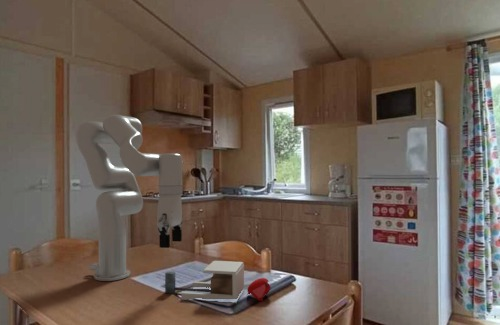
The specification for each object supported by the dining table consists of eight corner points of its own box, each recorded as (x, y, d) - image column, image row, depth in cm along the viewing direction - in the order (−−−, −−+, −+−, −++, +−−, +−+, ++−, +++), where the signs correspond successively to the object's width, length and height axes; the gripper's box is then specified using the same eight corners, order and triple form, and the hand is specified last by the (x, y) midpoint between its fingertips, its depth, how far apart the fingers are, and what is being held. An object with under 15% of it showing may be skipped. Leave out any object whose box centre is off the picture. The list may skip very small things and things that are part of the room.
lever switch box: (181, 299, 107) (181, 268, 107) (193, 287, 118) (193, 259, 118) (236, 303, 104) (236, 271, 104) (244, 290, 115) (243, 262, 115)
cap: (275, 284, 111) (260, 273, 113) (272, 284, 105) (256, 271, 107) (260, 306, 109) (245, 294, 112) (256, 307, 104) (241, 294, 106)
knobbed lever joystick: (161, 294, 111) (161, 275, 111) (169, 288, 117) (169, 270, 117) (232, 299, 107) (232, 279, 107) (237, 292, 113) (237, 273, 113)
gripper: (170, 189, 123) (170, 238, 123) (147, 193, 106) (147, 249, 106) (190, 189, 122) (191, 239, 121) (170, 193, 105) (171, 250, 104)
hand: (171, 244), depth 114 cm, fingers open, 9 cm apart
